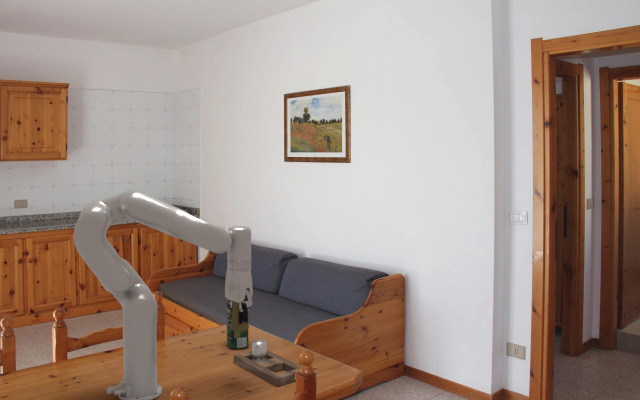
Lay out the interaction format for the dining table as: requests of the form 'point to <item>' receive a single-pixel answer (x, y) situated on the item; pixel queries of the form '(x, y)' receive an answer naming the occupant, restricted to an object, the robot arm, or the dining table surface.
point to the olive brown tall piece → (237, 318)
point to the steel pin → (259, 350)
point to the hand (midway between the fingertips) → (239, 321)
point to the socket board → (269, 367)
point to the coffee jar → (235, 333)
